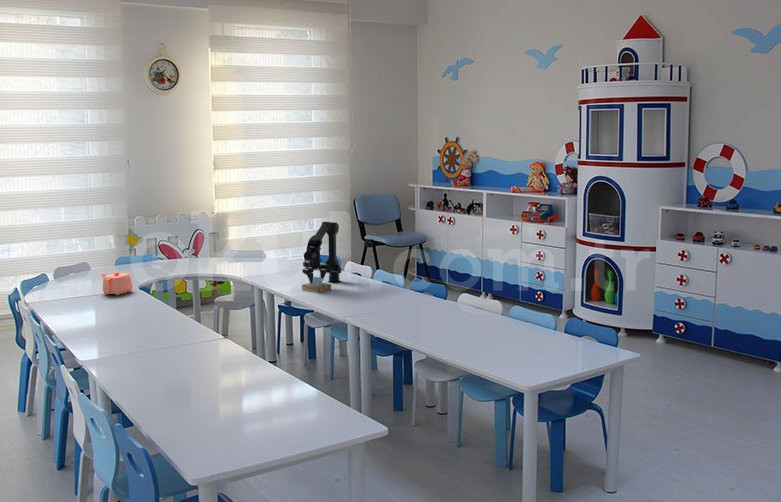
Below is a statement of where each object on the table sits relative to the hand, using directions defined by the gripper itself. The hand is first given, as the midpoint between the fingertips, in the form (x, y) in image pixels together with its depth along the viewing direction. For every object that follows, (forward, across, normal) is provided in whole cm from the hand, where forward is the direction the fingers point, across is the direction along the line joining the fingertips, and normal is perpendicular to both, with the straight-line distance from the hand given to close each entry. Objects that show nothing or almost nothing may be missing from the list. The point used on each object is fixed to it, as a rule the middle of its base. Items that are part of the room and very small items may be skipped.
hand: (316, 282), depth 485 cm
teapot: (+5, +82, -99) cm, 129 cm away
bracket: (+5, 0, 0) cm, 5 cm away
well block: (+5, 0, 0) cm, 5 cm away
